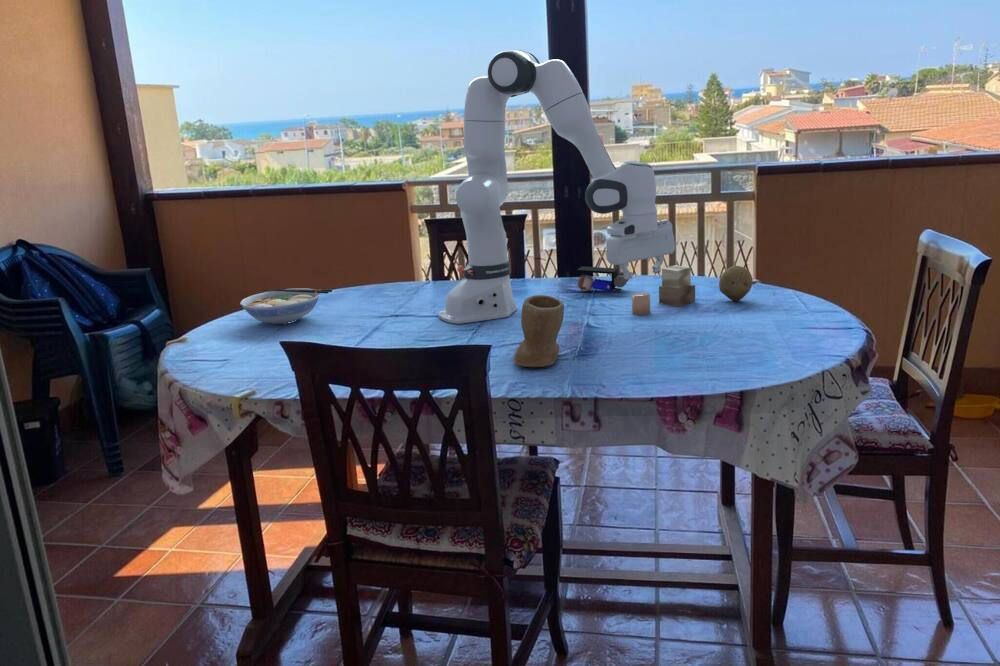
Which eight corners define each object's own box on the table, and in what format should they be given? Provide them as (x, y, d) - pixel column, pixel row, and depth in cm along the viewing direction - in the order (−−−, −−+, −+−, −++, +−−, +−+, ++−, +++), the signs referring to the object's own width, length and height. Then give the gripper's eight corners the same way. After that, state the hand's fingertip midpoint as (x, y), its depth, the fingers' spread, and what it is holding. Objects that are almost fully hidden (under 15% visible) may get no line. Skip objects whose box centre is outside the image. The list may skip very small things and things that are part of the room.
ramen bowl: (223, 330, 231) (219, 302, 228) (276, 309, 250) (273, 284, 248) (292, 335, 220) (288, 306, 218) (342, 313, 240) (339, 286, 237)
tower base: (678, 307, 220) (678, 289, 219) (659, 303, 226) (658, 286, 224) (695, 302, 224) (695, 284, 223) (675, 298, 230) (675, 281, 228)
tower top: (677, 288, 220) (677, 270, 219) (662, 286, 224) (661, 268, 223) (690, 285, 223) (690, 267, 222) (675, 282, 227) (674, 265, 226)
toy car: (628, 293, 245) (580, 287, 250) (630, 268, 243) (581, 263, 248) (624, 298, 239) (574, 292, 244) (626, 273, 237) (576, 267, 242)
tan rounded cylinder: (639, 316, 214) (639, 297, 213) (628, 312, 218) (628, 294, 217) (653, 312, 216) (653, 294, 215) (642, 309, 220) (642, 291, 219)
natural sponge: (751, 305, 216) (752, 269, 213) (717, 305, 219) (717, 269, 216) (752, 297, 224) (753, 262, 222) (719, 297, 227) (719, 262, 224)
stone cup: (562, 371, 175) (559, 304, 171) (509, 371, 178) (504, 305, 174) (571, 350, 190) (568, 288, 185) (521, 350, 192) (517, 289, 188)
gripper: (664, 217, 218) (665, 267, 221) (601, 228, 209) (604, 280, 213) (679, 219, 212) (680, 270, 216) (615, 230, 204) (618, 284, 207)
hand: (642, 275), depth 214 cm, fingers open, 8 cm apart
